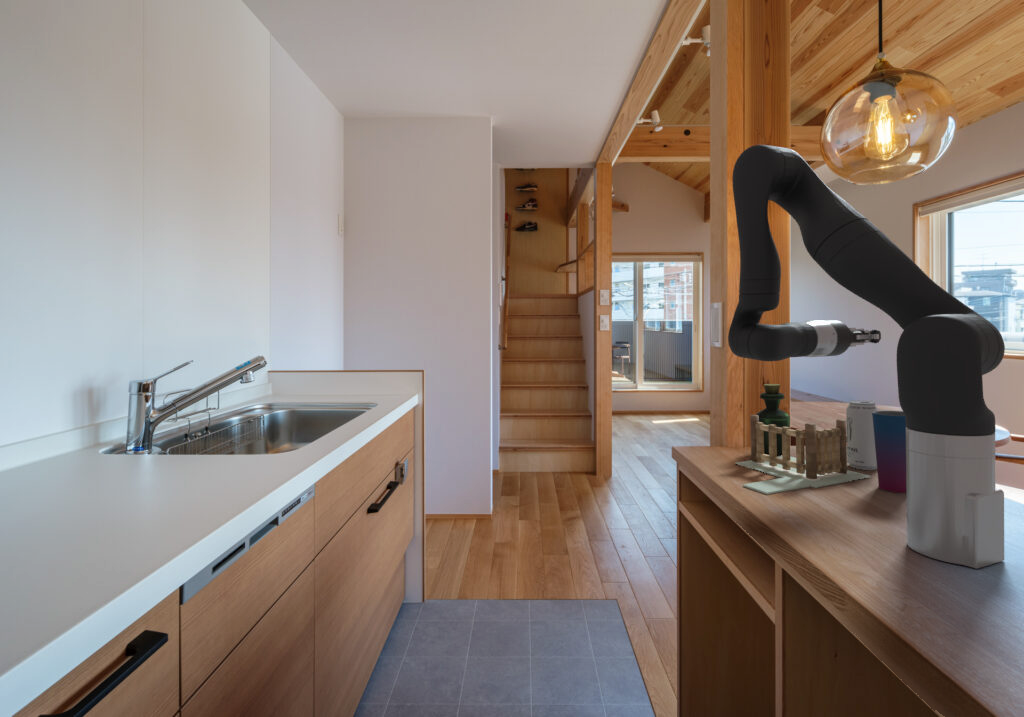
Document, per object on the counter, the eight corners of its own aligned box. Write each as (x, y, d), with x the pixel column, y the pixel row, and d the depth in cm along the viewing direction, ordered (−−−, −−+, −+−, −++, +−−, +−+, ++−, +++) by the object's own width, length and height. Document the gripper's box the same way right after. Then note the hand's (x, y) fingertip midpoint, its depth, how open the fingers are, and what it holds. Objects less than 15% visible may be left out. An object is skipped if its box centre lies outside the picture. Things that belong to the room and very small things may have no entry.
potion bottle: (749, 450, 130) (747, 384, 129) (777, 448, 131) (776, 382, 130) (768, 457, 122) (766, 386, 121) (798, 455, 122) (797, 385, 122)
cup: (925, 494, 91) (925, 415, 90) (884, 494, 92) (883, 415, 91) (904, 484, 97) (903, 410, 97) (866, 483, 99) (865, 410, 98)
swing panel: (808, 473, 104) (807, 423, 103) (801, 474, 103) (800, 423, 103) (755, 459, 117) (754, 414, 117) (749, 460, 116) (748, 415, 116)
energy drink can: (843, 463, 114) (842, 400, 113) (874, 464, 112) (873, 400, 111) (852, 470, 108) (851, 403, 108) (884, 471, 106) (883, 403, 106)
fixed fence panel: (849, 475, 104) (848, 420, 104) (812, 482, 101) (811, 425, 100) (840, 473, 106) (839, 419, 106) (803, 479, 103) (802, 423, 102)
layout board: (870, 477, 102) (870, 475, 102) (771, 496, 93) (771, 493, 93) (785, 456, 122) (785, 454, 122) (696, 470, 113) (696, 468, 113)
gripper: (850, 318, 93) (910, 316, 99) (790, 322, 105) (846, 320, 111) (850, 357, 93) (910, 353, 99) (790, 356, 106) (847, 352, 111)
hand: (876, 335), depth 105 cm, fingers closed
